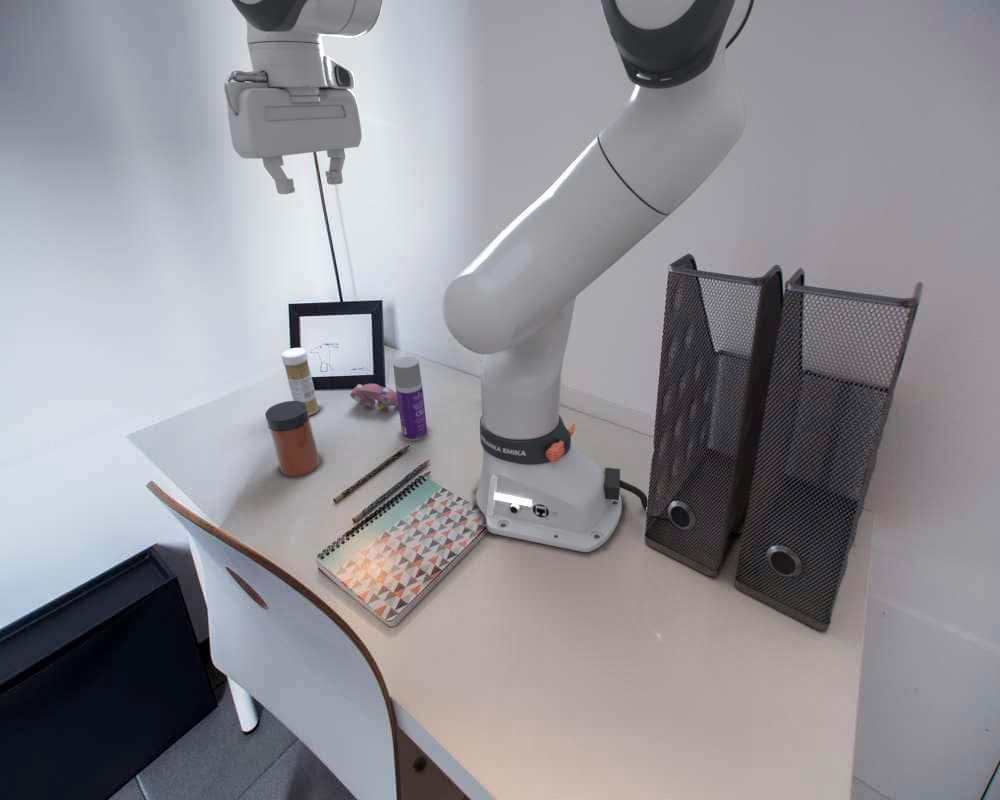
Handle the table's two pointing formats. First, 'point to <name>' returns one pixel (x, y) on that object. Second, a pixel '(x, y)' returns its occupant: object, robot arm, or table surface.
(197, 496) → the table surface
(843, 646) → the table surface
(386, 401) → the pink toy animal
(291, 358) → the sprinkles bottle
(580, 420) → the table surface
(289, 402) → the lid
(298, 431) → the jar
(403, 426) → the container
